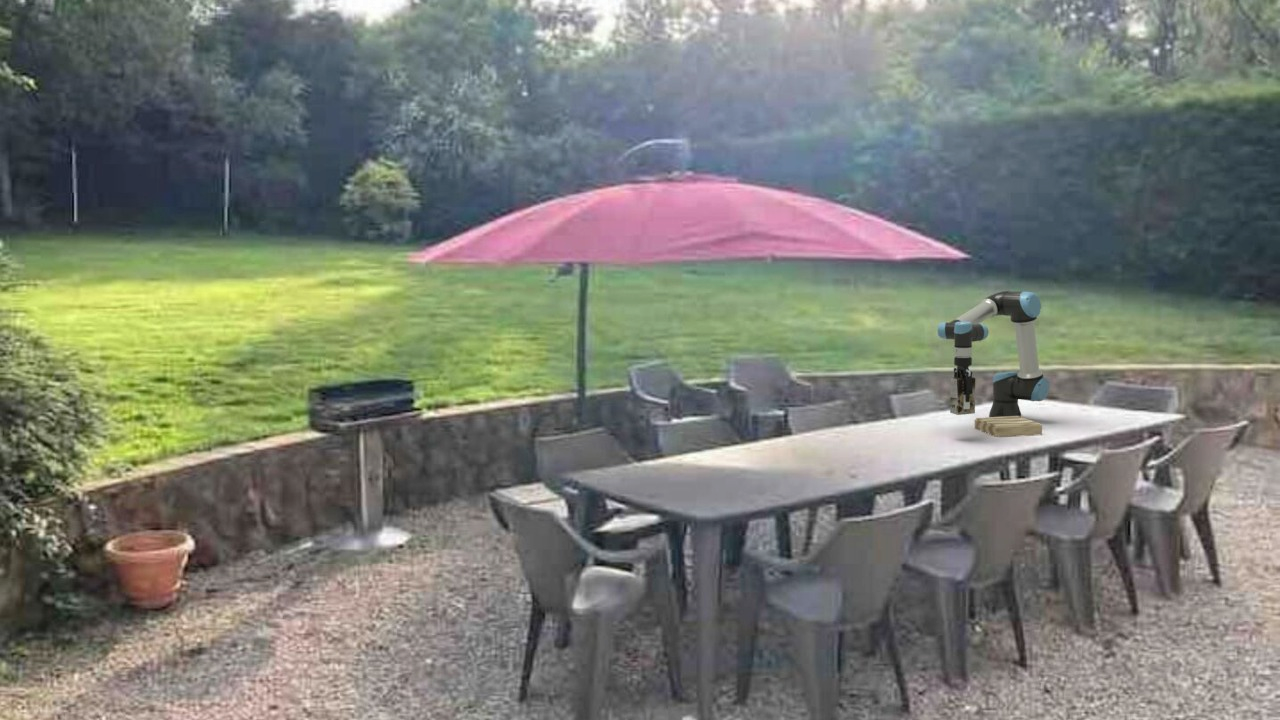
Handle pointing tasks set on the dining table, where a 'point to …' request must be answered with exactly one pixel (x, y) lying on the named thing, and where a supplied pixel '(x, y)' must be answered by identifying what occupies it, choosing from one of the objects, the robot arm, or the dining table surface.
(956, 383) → the coffee box
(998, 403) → the robot arm
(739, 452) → the dining table surface
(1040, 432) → the stand
